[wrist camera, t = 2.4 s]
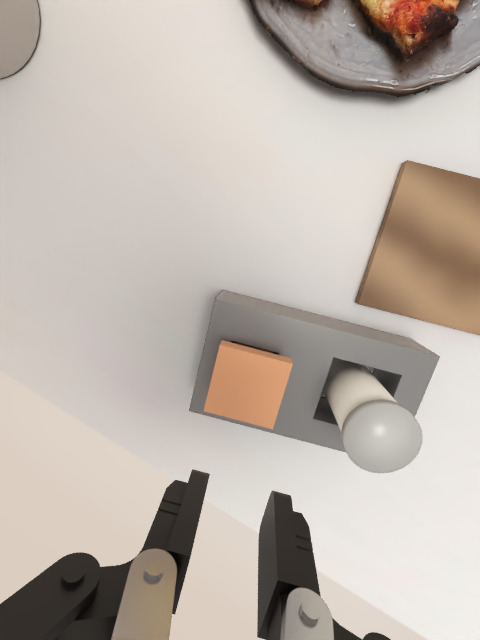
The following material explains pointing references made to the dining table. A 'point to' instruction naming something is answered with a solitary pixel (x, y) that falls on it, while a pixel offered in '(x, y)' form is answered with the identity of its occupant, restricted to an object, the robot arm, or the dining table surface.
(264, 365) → the orange cube
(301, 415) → the grey hollow block
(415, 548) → the dining table surface
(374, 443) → the cylinder
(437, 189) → the walnut board
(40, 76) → the dining table surface
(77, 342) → the dining table surface
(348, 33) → the food plate
